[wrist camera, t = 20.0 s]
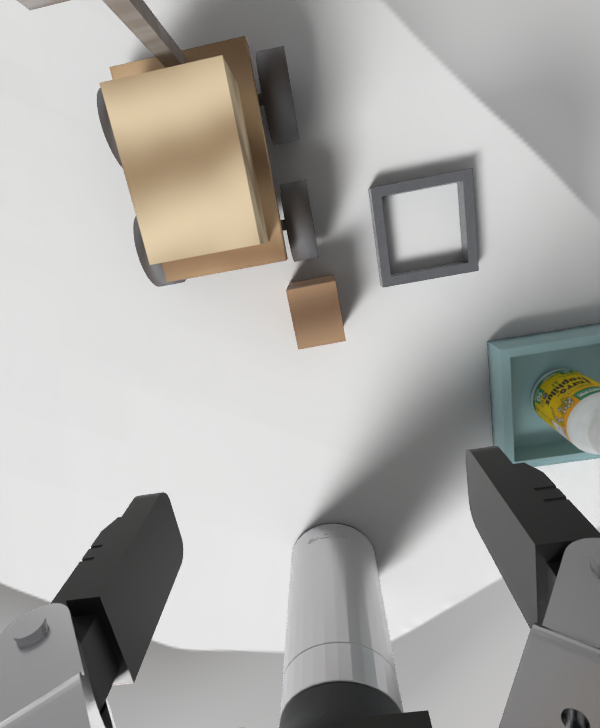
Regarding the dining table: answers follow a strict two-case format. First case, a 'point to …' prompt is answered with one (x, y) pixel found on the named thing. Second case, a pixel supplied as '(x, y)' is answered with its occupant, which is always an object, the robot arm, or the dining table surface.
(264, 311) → the dining table surface
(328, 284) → the block
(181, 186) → the trolley
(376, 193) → the square frame
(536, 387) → the supplement bottle
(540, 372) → the tray
